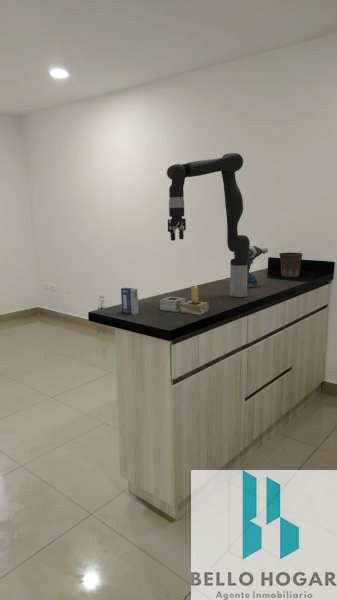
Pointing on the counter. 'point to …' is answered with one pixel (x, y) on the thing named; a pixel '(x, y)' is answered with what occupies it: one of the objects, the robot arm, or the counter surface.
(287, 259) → the plant pot
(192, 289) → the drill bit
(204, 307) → the rack block
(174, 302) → the socket block
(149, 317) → the counter surface
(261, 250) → the impact wrench
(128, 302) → the walkman
